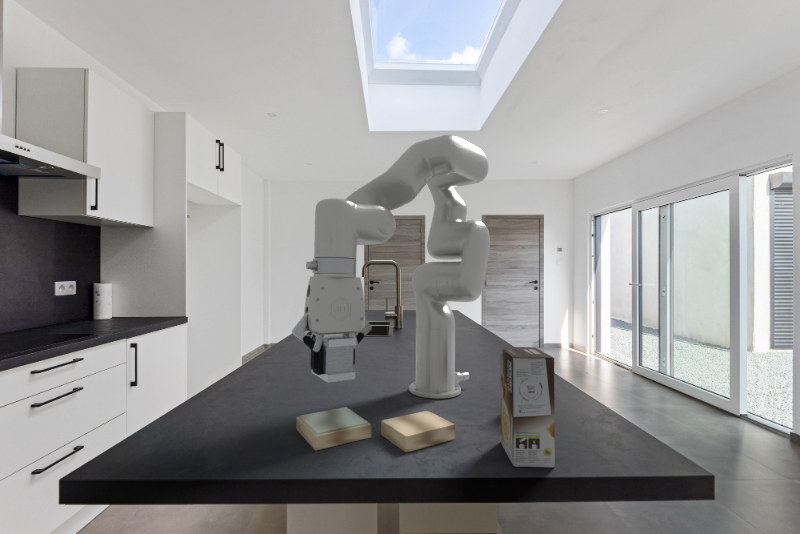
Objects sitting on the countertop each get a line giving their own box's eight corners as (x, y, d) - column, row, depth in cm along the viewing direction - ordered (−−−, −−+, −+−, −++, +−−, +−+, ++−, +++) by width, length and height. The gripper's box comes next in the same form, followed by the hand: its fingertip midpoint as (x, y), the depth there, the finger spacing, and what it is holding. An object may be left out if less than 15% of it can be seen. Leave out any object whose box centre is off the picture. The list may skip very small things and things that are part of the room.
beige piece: (427, 423, 72) (427, 410, 72) (454, 439, 66) (455, 424, 66) (381, 434, 67) (381, 420, 67) (406, 452, 60) (406, 436, 60)
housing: (355, 379, 66) (356, 337, 66) (327, 382, 63) (328, 339, 63) (337, 369, 73) (337, 332, 73) (311, 372, 70) (312, 333, 70)
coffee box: (557, 468, 56) (556, 357, 56) (512, 467, 56) (512, 357, 56) (536, 441, 65) (536, 346, 65) (498, 441, 65) (498, 346, 66)
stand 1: (347, 418, 75) (347, 406, 75) (371, 437, 66) (371, 422, 66) (296, 429, 69) (296, 415, 69) (315, 450, 61) (315, 434, 61)
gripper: (294, 267, 61) (291, 382, 60) (386, 270, 70) (385, 370, 69) (281, 268, 67) (278, 372, 66) (367, 270, 76) (366, 362, 76)
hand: (332, 370), depth 68 cm, fingers closed on housing, 5 cm apart
